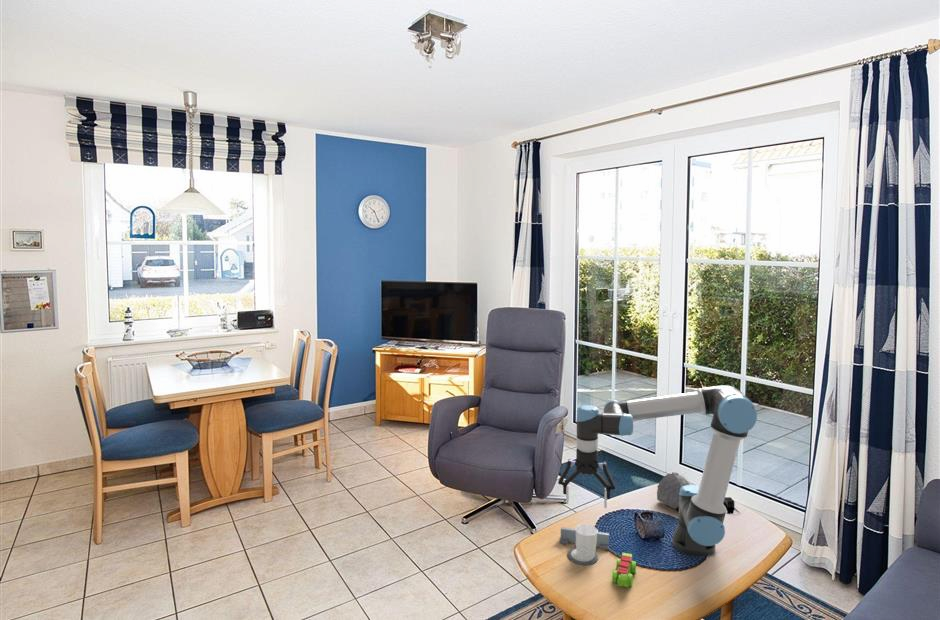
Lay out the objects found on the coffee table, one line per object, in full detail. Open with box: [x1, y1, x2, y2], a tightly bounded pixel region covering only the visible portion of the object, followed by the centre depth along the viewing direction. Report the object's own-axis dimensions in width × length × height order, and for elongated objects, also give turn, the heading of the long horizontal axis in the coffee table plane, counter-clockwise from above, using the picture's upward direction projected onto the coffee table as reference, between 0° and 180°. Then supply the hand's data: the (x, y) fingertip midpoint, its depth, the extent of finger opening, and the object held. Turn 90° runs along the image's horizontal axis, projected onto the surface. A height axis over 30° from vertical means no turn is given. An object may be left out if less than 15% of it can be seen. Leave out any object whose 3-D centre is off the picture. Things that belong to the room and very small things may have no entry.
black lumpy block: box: [723, 496, 741, 515], centre depth 242 cm, size 12×7×5 cm, turn 1°
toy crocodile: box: [611, 552, 637, 588], centre depth 194 cm, size 20×7×6 cm, turn 156°
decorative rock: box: [656, 471, 690, 510], centre depth 243 cm, size 16×7×15 cm, turn 37°
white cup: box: [574, 523, 598, 560], centre depth 205 cm, size 8×8×10 cm
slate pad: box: [567, 546, 599, 566], centre depth 206 cm, size 11×11×1 cm
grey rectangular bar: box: [559, 526, 610, 551], centre depth 215 cm, size 18×5×5 cm, turn 75°
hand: (586, 504), depth 205 cm, fingers open, 13 cm apart
